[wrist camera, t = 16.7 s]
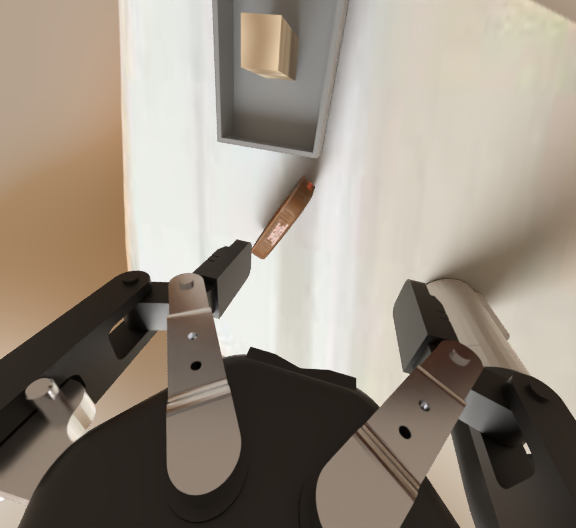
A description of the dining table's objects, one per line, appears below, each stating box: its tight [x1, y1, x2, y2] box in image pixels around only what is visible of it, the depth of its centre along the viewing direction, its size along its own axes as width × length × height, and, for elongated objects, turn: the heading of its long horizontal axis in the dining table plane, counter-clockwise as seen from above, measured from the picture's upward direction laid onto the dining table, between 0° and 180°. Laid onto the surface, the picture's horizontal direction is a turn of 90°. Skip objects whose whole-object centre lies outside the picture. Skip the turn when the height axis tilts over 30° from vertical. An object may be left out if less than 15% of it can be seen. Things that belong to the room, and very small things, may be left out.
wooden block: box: [241, 13, 299, 81], centre depth 27 cm, size 4×4×8 cm
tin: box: [251, 176, 315, 259], centre depth 38 cm, size 15×3×8 cm, turn 144°
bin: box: [212, 0, 349, 159], centre depth 29 cm, size 14×20×5 cm
